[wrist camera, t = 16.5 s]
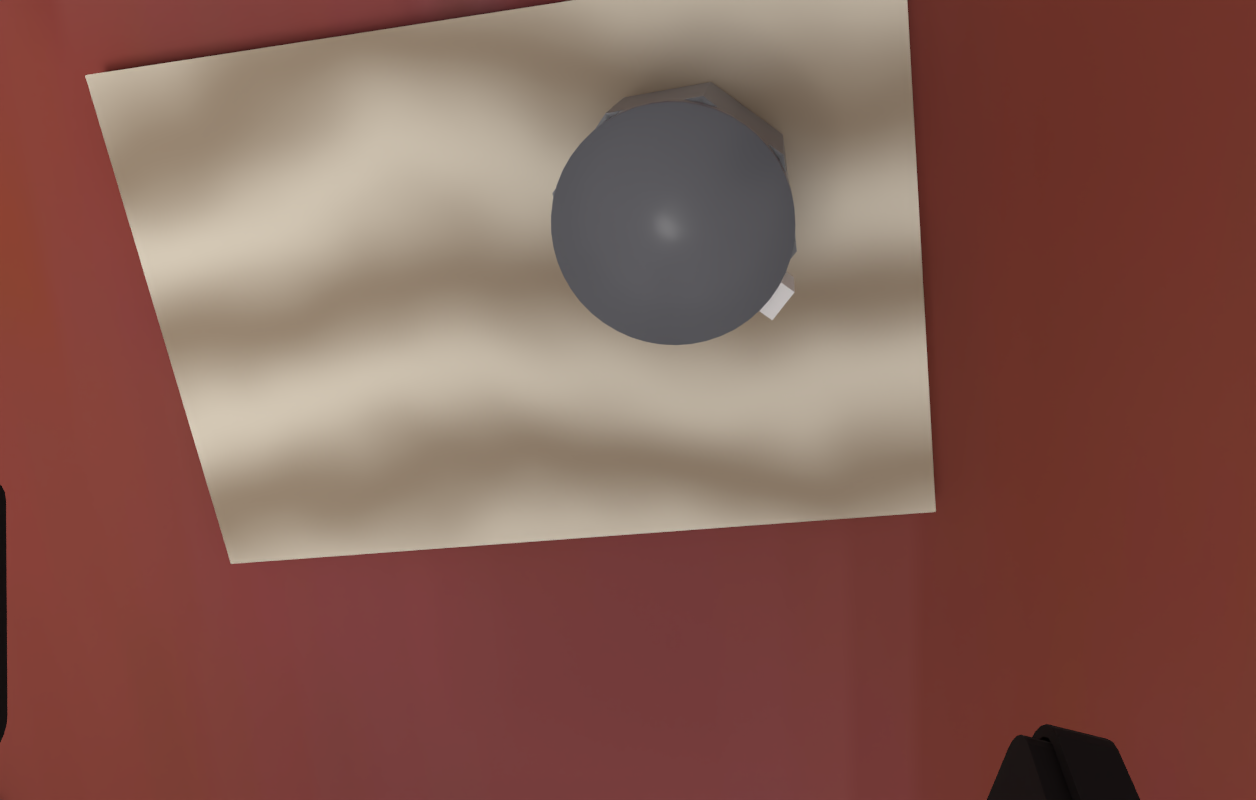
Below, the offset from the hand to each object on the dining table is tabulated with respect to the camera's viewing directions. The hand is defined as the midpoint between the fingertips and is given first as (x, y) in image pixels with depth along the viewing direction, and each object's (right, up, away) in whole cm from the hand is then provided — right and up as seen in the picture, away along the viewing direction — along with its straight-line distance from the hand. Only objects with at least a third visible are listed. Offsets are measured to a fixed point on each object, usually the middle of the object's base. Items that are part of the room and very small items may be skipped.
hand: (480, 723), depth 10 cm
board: (-2, +7, +28) cm, 29 cm away
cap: (+3, +9, +24) cm, 26 cm away
